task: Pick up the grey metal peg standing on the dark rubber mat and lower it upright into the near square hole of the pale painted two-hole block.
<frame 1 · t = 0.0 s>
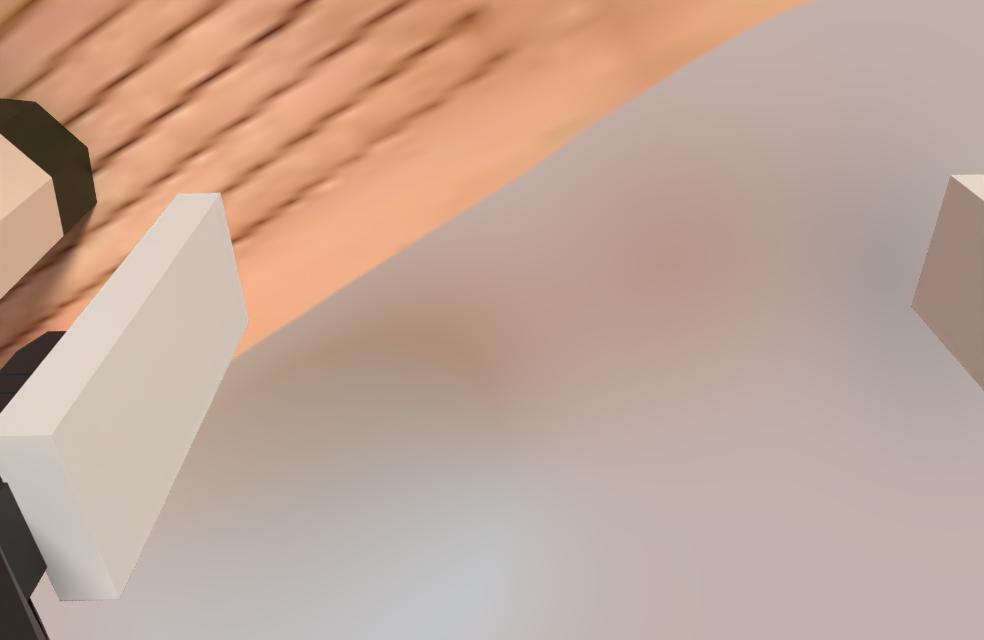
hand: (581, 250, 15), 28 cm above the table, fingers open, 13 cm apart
wine bottle: (21, 167, 43), on the table
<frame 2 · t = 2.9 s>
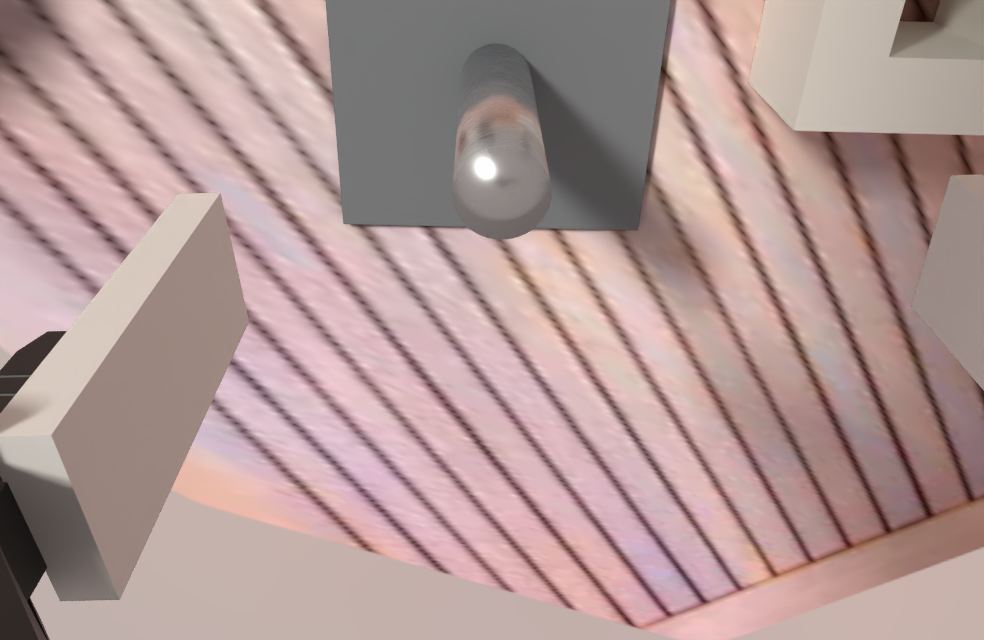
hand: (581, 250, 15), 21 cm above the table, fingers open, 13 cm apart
mat: (495, 76, 34), on the table
peg: (496, 79, 34), resting on mat
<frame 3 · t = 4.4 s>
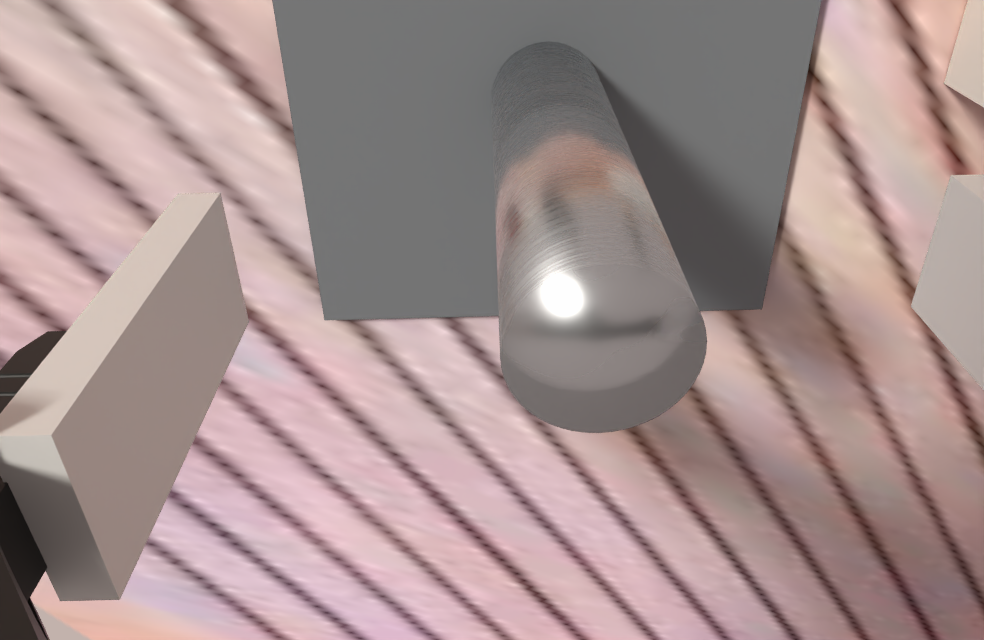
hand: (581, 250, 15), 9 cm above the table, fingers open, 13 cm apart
mat: (545, 93, 22), on the table
peg: (546, 98, 22), resting on mat
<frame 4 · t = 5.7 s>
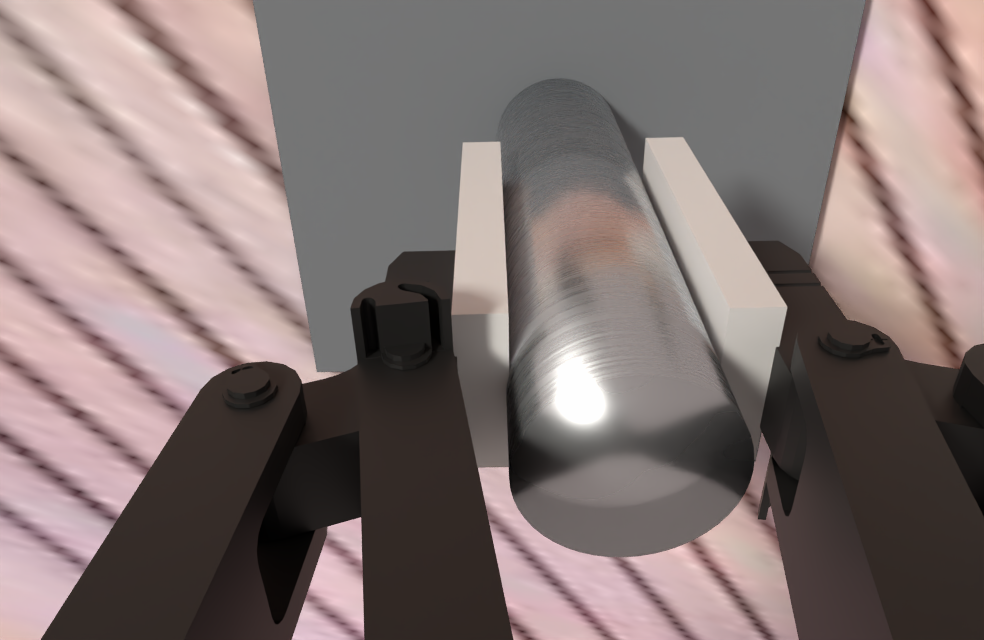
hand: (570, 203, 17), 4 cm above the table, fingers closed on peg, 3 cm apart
mat: (555, 134, 20), on the table
peg: (556, 138, 20), resting on mat, touching gripper
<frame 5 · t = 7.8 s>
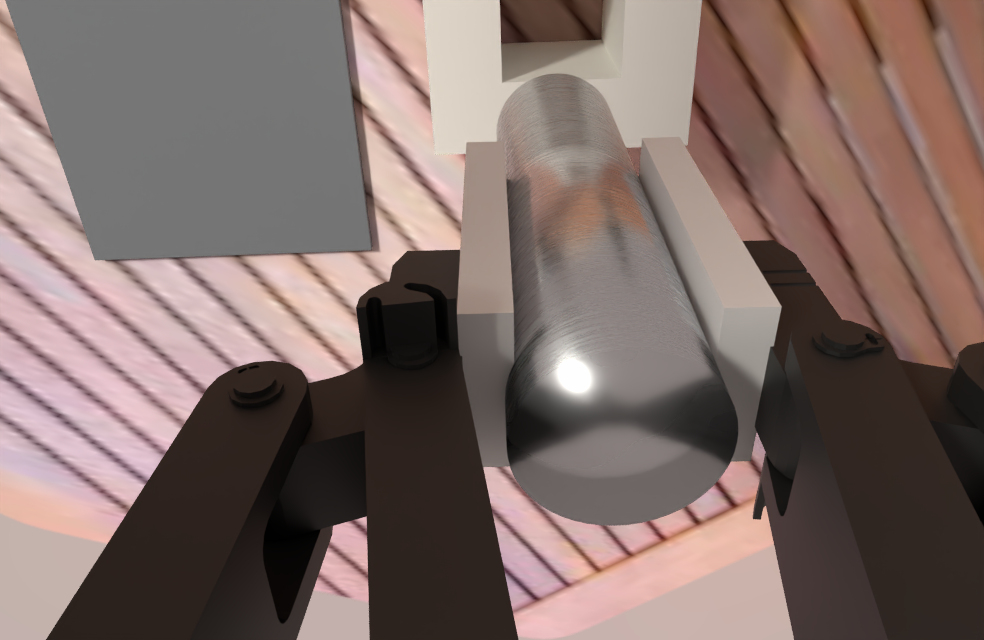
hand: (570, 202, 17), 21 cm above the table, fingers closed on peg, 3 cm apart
mat: (203, 116, 37), on the table
peg: (554, 132, 20), point 16 cm above the table, touching gripper
when the fingers open (7 cm above the table, at t = 10.0 s): peg drops 3 cm, resting in block.
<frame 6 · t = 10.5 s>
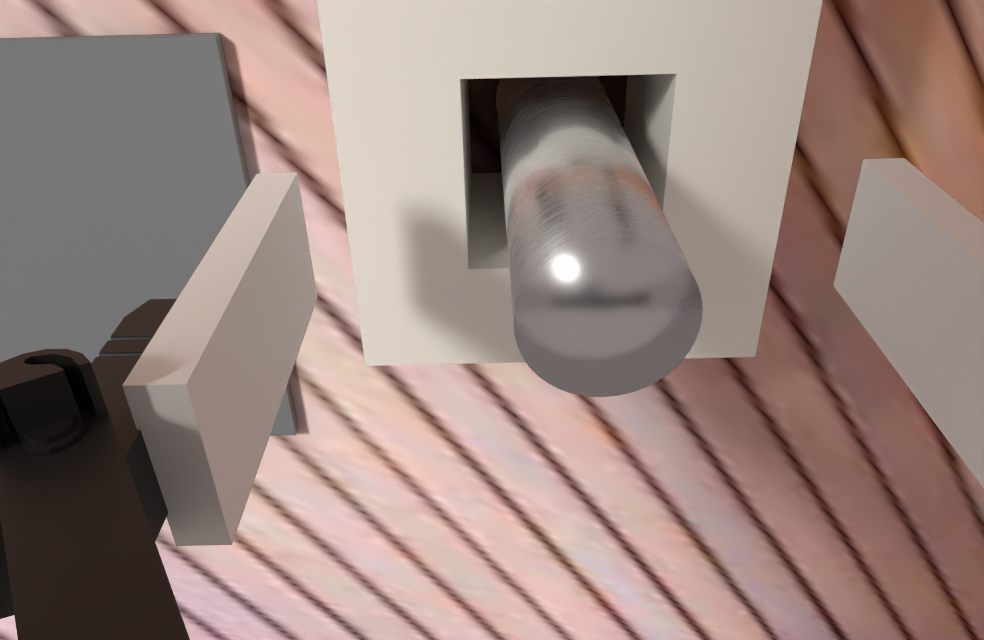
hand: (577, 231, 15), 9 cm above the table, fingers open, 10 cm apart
mat: (46, 264, 26), on the table
peg: (548, 97, 23), resting in block
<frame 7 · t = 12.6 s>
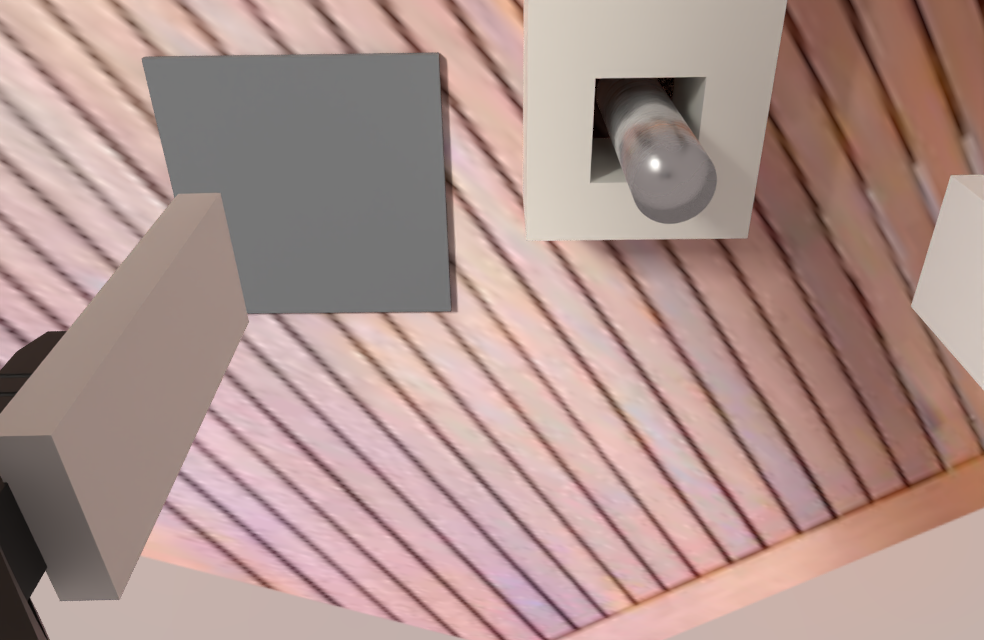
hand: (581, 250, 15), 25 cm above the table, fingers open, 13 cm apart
mat: (311, 193, 41), on the table
peg: (626, 92, 39), resting in block
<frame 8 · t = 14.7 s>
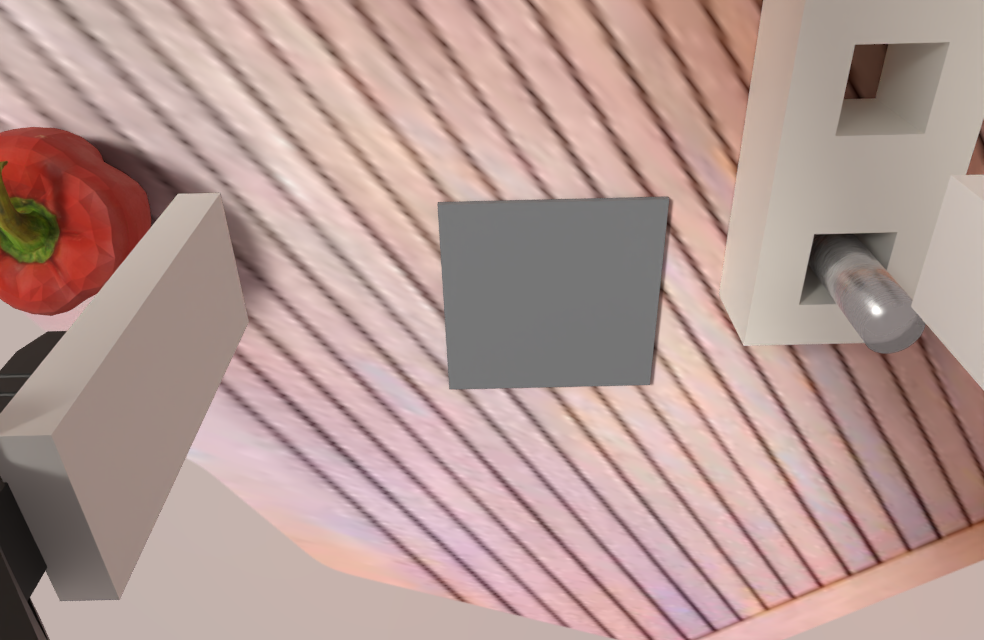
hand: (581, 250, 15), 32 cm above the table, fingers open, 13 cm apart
mat: (550, 298, 52), on the table
block: (826, 145, 47), on the table
vegetable: (86, 178, 48), on the table
peg: (810, 223, 50), resting in block
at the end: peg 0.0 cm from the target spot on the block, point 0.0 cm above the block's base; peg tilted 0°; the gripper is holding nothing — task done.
